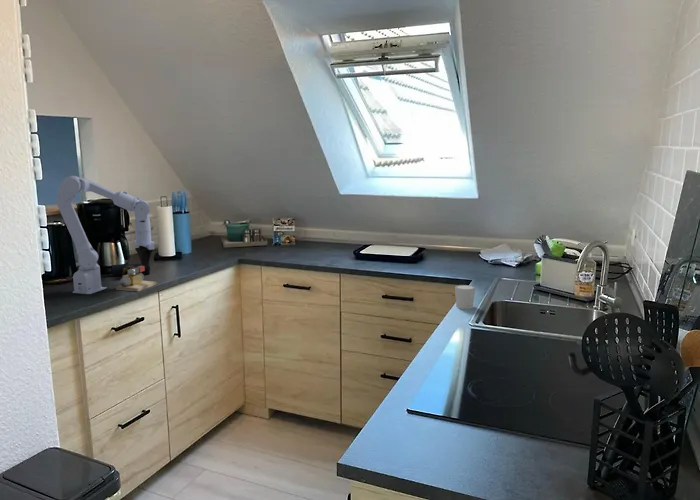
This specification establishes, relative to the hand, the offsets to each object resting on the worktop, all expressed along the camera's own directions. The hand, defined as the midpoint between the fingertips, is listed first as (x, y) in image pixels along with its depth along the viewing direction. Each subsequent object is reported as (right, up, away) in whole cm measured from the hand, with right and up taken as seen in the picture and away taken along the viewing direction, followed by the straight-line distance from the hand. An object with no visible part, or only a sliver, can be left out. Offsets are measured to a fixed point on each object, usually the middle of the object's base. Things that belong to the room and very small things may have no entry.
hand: (145, 265), depth 215 cm
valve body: (-5, -8, +1) cm, 10 cm away
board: (-3, -9, 0) cm, 9 cm away
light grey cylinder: (+121, -14, -28) cm, 125 cm away
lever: (-5, -3, +3) cm, 6 cm away
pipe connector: (-13, -6, +19) cm, 24 cm away
